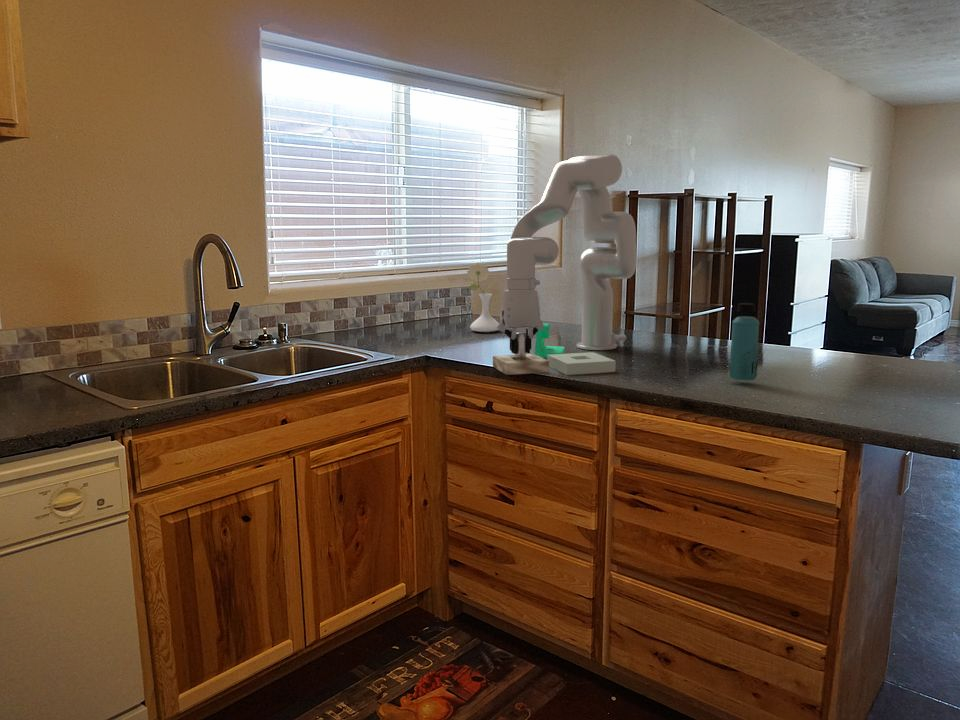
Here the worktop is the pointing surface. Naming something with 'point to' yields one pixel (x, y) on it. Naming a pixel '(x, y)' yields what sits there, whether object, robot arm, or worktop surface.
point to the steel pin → (521, 346)
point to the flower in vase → (485, 320)
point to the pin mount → (520, 364)
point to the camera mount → (540, 344)
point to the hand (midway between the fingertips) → (520, 352)
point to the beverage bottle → (744, 344)
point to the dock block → (581, 363)
